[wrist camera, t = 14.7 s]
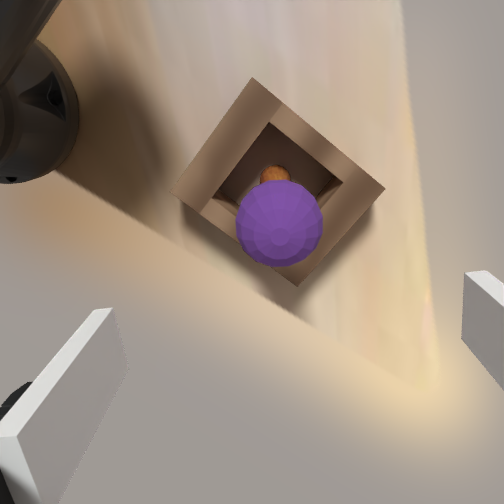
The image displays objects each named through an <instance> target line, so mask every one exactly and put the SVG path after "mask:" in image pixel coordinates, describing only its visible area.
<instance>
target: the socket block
mask: <svg viewBox="0 0 504 504" xmlns="http://www.w3.org/2000/svg"><path fill="white" fill-rule="evenodd" d="M268 122H270V123H272V124H273V125H274V126H275V127H277V128H278V129H279V130H280V131H281V132H283V133H284V134H285V135H286V136H288V137H289V138H290V139H291V140H292V141H294V142H295V143H296V144H297V145H299V146H300V147H301V148H302V149H303V150H305V151H306V152H307V153H308V154H309V155H311V156H312V157H313V158H314V159H316V160H317V161H318V162H319V163H320V164H322V165H323V166H324V167H325V168H327V169H328V170H329V171H330V172H331V173H333V174H334V175H335V176H334V177H333V178H332V179H331V180H330V181H329V183H328V184H327V185H326V186H325V187H324V189H323V190H322V191H321V192H320V193H319V194H318V196H317V197H316V198H315V200H316V202H317V204H318V206H319V209H320V211H321V213H322V216H323V233H322V236H321V238H320V240H319V243H318V245H317V247H316V249H315V250H314V251H313V252H312V253H311V254H310V255H309V256H308V257H307V258H306V259H304V260H303V261H300V262H298V263H295V264H293V265H291V266H285V267H271V266H270V267H271V268H273V269H274V270H275V271H277V272H278V273H279V274H281V275H282V276H283V277H285V278H286V279H288V280H289V281H290V282H292V283H293V284H294V285H296V286H297V287H298V286H299V284H300V283H301V282H302V281H303V280H304V279H305V278H306V277H307V276H308V274H309V273H310V272H311V271H312V270H313V269H314V268H315V267H316V266H317V264H318V263H319V262H320V261H321V260H322V259H323V258H324V257H325V256H326V254H327V253H328V252H329V251H330V250H331V249H332V248H333V247H334V246H335V244H336V243H337V242H338V241H339V240H340V239H341V238H342V237H343V236H344V234H345V233H346V232H347V231H348V230H349V229H350V228H351V227H352V226H353V224H354V223H355V222H356V221H357V220H358V219H359V218H360V217H361V216H362V214H363V213H364V212H365V211H366V210H367V209H368V208H369V207H370V206H371V204H372V203H373V202H374V201H375V200H376V199H377V198H378V197H379V196H380V195H381V193H382V192H383V191H384V190H385V188H384V187H383V186H382V185H381V184H379V183H378V182H377V181H376V180H375V179H373V178H372V177H371V176H370V175H369V174H367V173H366V172H365V171H364V170H363V169H361V168H360V167H359V166H358V165H357V164H355V163H354V162H353V161H352V160H351V159H350V158H348V157H347V156H346V155H345V154H344V153H342V152H341V151H340V150H339V149H338V148H336V147H335V146H334V145H333V144H332V143H330V142H329V141H328V140H327V139H326V138H324V137H323V136H322V135H321V134H320V133H318V132H317V131H316V130H315V129H314V128H312V127H311V126H310V125H309V124H308V123H306V122H305V121H304V120H303V119H302V118H301V117H299V116H298V115H297V114H296V113H295V112H293V111H292V110H291V109H290V108H289V107H287V106H286V105H285V104H284V103H283V102H281V101H280V100H279V99H278V98H277V97H275V96H274V95H273V94H272V93H271V92H269V91H268V90H267V89H266V88H265V87H263V86H262V85H261V84H260V83H259V82H257V81H256V80H255V79H254V78H253V77H252V78H251V79H250V81H249V82H248V84H247V85H246V86H245V88H244V89H243V91H242V92H241V93H240V95H239V96H238V98H237V99H236V100H235V102H234V103H233V105H232V106H231V107H230V109H229V110H228V112H227V113H226V114H225V116H224V117H223V119H222V120H221V121H220V123H219V124H218V126H217V127H216V128H215V130H214V131H213V133H212V134H211V135H210V137H209V138H208V140H207V141H206V142H205V144H204V145H203V147H202V148H201V149H200V151H199V152H198V153H197V155H196V156H195V158H194V159H193V160H192V162H191V163H190V165H189V166H188V167H187V169H186V170H185V172H184V173H183V174H182V176H181V177H180V179H179V180H178V181H177V183H176V184H175V186H174V187H173V188H172V190H171V191H170V193H172V194H173V195H175V196H176V197H177V198H179V199H180V200H181V201H183V202H184V203H185V204H187V205H188V206H189V207H191V208H192V209H193V210H195V211H196V212H197V213H199V214H200V215H201V216H203V217H204V218H205V219H207V220H208V221H209V222H211V223H212V224H214V225H215V226H216V227H218V228H219V229H220V230H222V231H223V232H224V233H226V234H227V235H228V236H230V237H231V238H232V239H234V240H235V241H236V242H238V243H239V244H240V242H239V240H238V238H237V236H236V221H235V219H236V216H237V213H238V210H239V207H240V205H238V204H237V203H236V202H234V201H233V200H232V199H230V198H229V197H228V196H227V195H225V194H224V193H223V192H221V191H220V190H219V189H218V188H219V187H220V186H221V184H222V183H223V182H224V180H225V179H226V178H227V177H228V175H229V174H230V173H231V171H232V170H233V169H234V167H235V166H236V165H237V163H238V162H239V161H240V159H241V158H242V157H243V155H244V154H245V153H246V151H247V150H248V149H249V147H250V146H251V145H252V143H253V142H254V141H255V139H256V138H257V137H258V136H259V134H260V133H261V132H262V130H263V129H264V128H265V126H266V125H267V124H268ZM240 245H241V244H240Z"/></svg>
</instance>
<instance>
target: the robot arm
mask: <svg viewBox="0 0 504 504" xmlns="http://www.w3.org/2000/svg"><path fill="white" fill-rule="evenodd" d="M61 1H62V0H0V183H3V184H13V183H22V182H26V181H29V180H33V179H36V178H39V177H42V176H44V175H46V174H48V173H50V172H51V171H53V170H54V169H56V168H57V167H58V166H59V165H60V164H61V163H62V162H63V161H64V160H65V159H66V157H67V156H68V154H69V153H70V151H71V149H72V147H73V145H74V142H75V139H76V136H77V131H78V124H79V111H78V103H77V98H76V94H75V91H74V88H73V85H72V83H71V80H70V78H69V76H68V74H67V72H66V71H65V69H64V67H63V66H62V64H61V63H60V62H59V60H58V59H57V58H56V56H55V55H54V54H53V53H52V52H51V51H50V50H49V49H48V48H47V47H46V46H45V45H44V44H42V43H41V42H40V41H39V40H37V37H38V35H39V34H40V32H41V31H42V29H43V28H44V26H45V25H46V23H47V22H48V20H49V19H50V17H51V16H52V14H53V13H54V11H55V10H56V8H57V7H58V5H59V4H60V2H61ZM461 339H462V340H463V341H464V343H465V344H466V345H467V346H468V347H469V349H470V350H471V351H472V352H473V354H474V355H475V356H476V357H477V358H478V360H479V361H480V362H481V363H482V365H483V366H484V367H485V368H486V369H487V371H488V372H489V373H490V374H491V376H492V377H493V378H494V379H495V380H496V382H497V383H498V384H499V385H500V387H501V388H502V389H503V390H504V284H503V283H502V282H501V281H499V280H498V279H496V278H495V277H494V276H493V275H491V274H490V273H489V272H488V271H475V272H466V273H464V290H463V315H462V338H461ZM128 369H129V366H128V362H127V358H126V355H125V351H124V347H123V344H122V339H121V336H120V332H119V328H118V324H117V321H116V317H115V312H114V309H113V308H106V309H95V310H93V312H92V313H91V314H90V315H89V316H88V317H87V319H86V320H85V321H84V322H83V323H82V325H81V326H80V327H79V328H78V329H77V331H76V332H75V333H74V334H73V335H72V336H71V338H70V339H69V340H68V341H67V342H66V344H65V345H64V346H63V347H62V349H61V350H60V351H59V352H58V353H57V354H56V355H55V357H54V358H53V359H52V360H51V362H50V363H49V364H48V365H47V366H46V368H45V369H44V370H43V371H42V372H41V373H40V375H39V376H38V377H37V378H36V379H35V381H34V382H27V383H26V384H24V385H23V386H21V387H20V388H19V389H17V390H16V391H14V392H13V393H12V394H11V395H10V396H9V397H8V398H7V399H6V401H5V402H4V403H3V404H2V407H0V504H58V503H59V501H60V499H61V497H62V496H63V494H64V492H65V490H66V488H67V486H68V484H69V482H70V480H71V478H72V476H73V475H74V472H75V471H76V469H77V467H78V465H79V463H80V461H81V459H82V457H83V455H84V454H85V451H86V450H87V448H88V446H89V444H90V442H91V440H92V438H93V436H94V434H95V432H96V430H97V429H98V427H99V425H100V423H101V421H102V419H103V417H104V415H105V413H106V411H107V410H108V408H109V406H110V404H111V402H112V400H113V398H114V396H115V394H116V392H117V390H118V388H119V387H120V385H121V383H122V381H123V379H124V377H125V375H126V373H127V371H128Z"/></svg>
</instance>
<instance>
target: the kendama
mask: <svg viewBox="0 0 504 504" xmlns="http://www.w3.org/2000/svg"><path fill="white" fill-rule="evenodd" d="M235 221H236V236H237V238H238V240H239V242H240V244H241V246H242V248H243V250H244V251H245V252H246V253H247V254H248V255H249V256H251V257H252V258H253V259H254V260H255V261H256V262H259V263H262V264H265V265H268V266H271V267H285V266H291V265H293V264H295V263H298V262H300V261H303V260H304V259H306V258H307V257H308V256H309V255H310V254H311V253H312V252H313V251H314V250H315V249H316V247H317V245H318V243H319V240H320V238H321V236H322V233H323V216H322V213H321V211H320V209H319V206H318V204H317V202H316V200H315V198H314V196H313V195H312V194H311V193H310V192H308V191H307V190H306V189H305V188H304V187H303V186H302V185H299V184H297V183H294V182H291V177H290V175H289V173H288V171H287V170H286V169H285V168H284V167H281V166H279V165H272V166H270V167H267V168H266V169H265V170H264V171H263V172H262V174H261V177H260V185H258V186H256V187H254V188H253V189H252V190H251V191H250V192H249V193H248V194H247V195H246V196H245V197H244V198H243V199H242V202H241V204H240V207H239V210H238V213H237V216H236V219H235Z"/></svg>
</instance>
